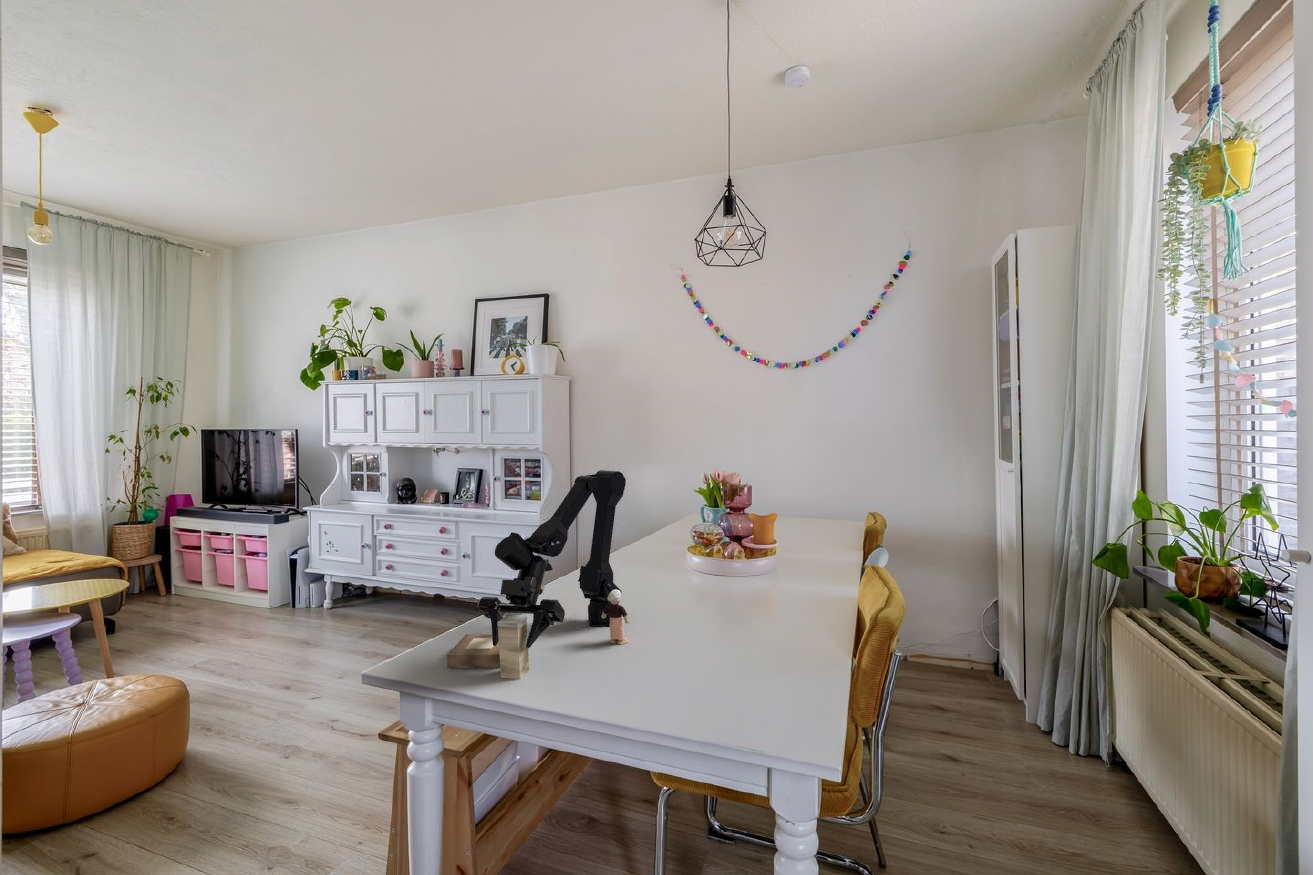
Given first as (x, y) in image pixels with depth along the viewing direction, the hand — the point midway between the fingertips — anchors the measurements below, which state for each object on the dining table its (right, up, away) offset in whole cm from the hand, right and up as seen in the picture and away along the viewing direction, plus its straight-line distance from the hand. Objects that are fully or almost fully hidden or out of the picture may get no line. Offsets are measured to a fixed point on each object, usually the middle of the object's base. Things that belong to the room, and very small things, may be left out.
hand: (510, 646), depth 140 cm
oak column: (+1, -6, +2) cm, 7 cm away
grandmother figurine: (+21, -5, +18) cm, 28 cm away
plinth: (-9, -6, +11) cm, 16 cm away
